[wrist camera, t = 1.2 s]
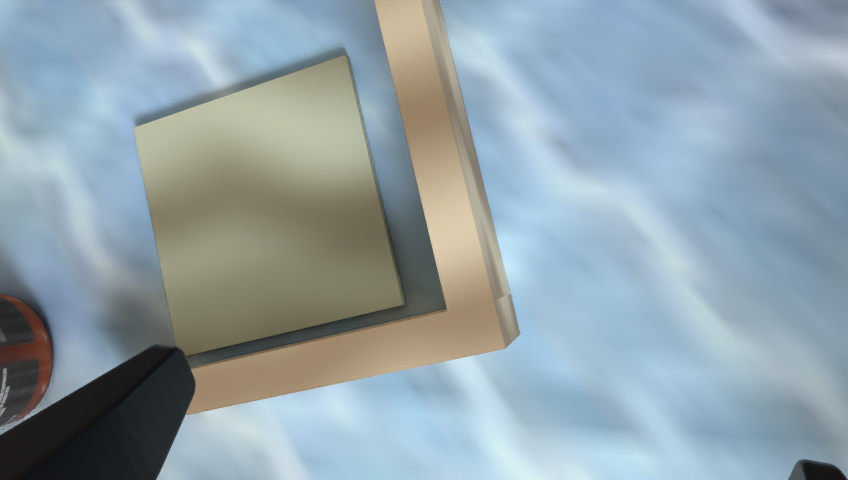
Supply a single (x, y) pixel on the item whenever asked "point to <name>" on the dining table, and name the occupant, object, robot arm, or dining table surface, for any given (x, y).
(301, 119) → the arena
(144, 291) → the dining table surface
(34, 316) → the supplement bottle
